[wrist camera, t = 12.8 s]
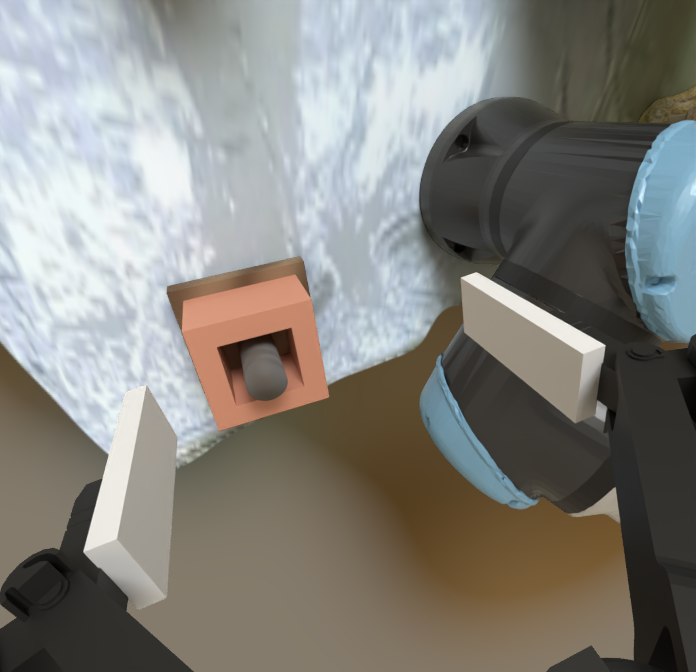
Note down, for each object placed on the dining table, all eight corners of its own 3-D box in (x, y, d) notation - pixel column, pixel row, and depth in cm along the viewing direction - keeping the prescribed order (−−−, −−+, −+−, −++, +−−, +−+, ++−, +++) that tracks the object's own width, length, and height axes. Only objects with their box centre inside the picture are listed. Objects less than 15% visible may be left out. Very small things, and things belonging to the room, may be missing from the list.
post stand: (300, 256, 39) (329, 296, 30) (319, 361, 45) (349, 418, 37) (167, 286, 36) (160, 338, 28) (207, 393, 42) (211, 462, 34)
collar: (295, 274, 38) (311, 299, 33) (313, 363, 43) (329, 397, 38) (183, 300, 36) (181, 331, 31) (215, 391, 41) (219, 430, 36)
